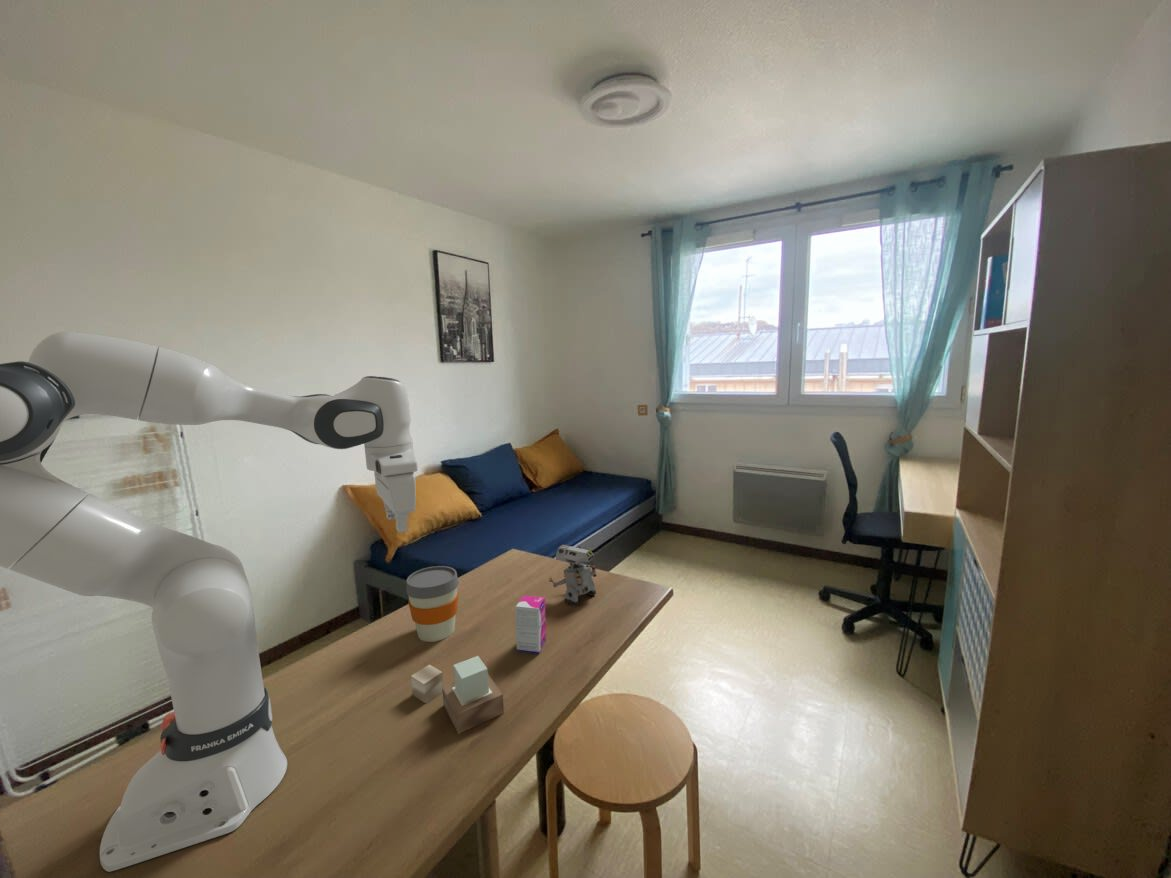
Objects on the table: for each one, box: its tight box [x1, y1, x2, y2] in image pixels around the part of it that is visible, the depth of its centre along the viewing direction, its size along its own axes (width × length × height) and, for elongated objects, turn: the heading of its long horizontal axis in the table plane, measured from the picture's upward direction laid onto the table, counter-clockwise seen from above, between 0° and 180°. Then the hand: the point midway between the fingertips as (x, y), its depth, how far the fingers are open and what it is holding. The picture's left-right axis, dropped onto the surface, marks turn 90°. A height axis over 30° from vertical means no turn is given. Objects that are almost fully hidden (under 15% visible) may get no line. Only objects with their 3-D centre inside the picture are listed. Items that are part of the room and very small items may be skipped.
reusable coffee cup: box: [406, 565, 460, 643], centre depth 118 cm, size 13×13×15 cm
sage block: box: [452, 655, 489, 703], centre depth 91 cm, size 5×5×5 cm
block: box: [410, 664, 444, 704], centre depth 96 cm, size 4×4×4 cm
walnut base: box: [442, 673, 505, 735], centre depth 91 cm, size 9×9×4 cm
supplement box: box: [515, 595, 547, 655], centre depth 111 cm, size 6×6×12 cm
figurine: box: [548, 544, 597, 607], centre depth 134 cm, size 9×12×15 cm
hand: (396, 524), depth 95 cm, fingers open, 8 cm apart
